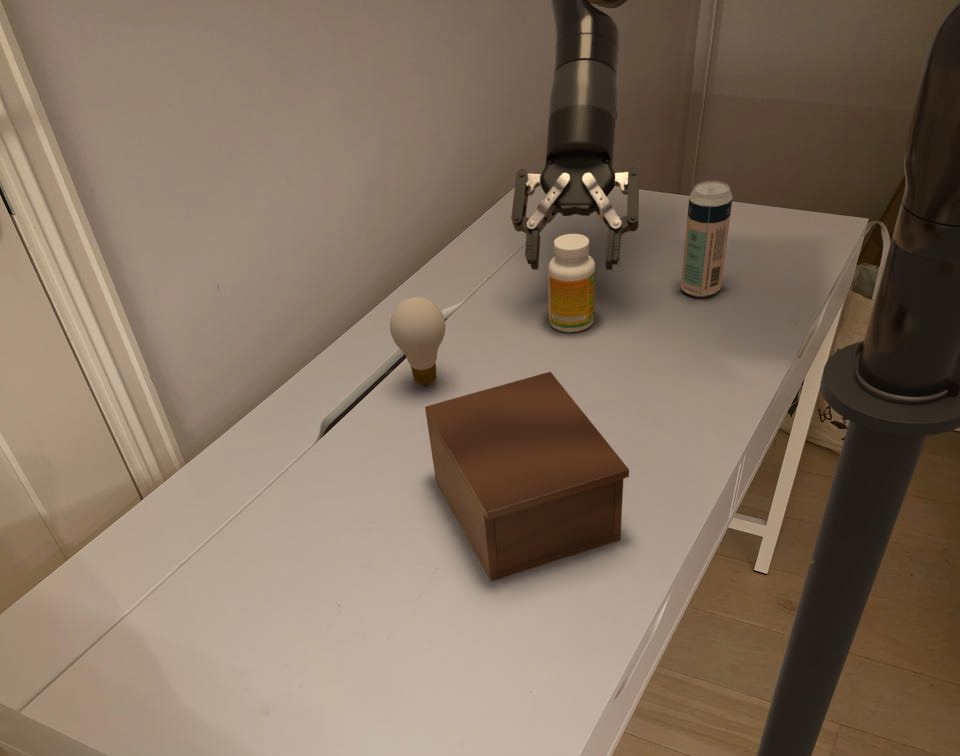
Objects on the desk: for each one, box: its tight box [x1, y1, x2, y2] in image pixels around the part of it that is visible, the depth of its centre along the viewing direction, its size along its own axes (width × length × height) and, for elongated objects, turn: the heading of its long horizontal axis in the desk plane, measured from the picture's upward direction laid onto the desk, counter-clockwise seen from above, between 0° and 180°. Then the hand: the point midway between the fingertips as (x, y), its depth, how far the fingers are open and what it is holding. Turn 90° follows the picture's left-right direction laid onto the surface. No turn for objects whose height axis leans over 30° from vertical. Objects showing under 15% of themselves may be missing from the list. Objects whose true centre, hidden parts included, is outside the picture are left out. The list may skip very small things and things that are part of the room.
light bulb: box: [389, 296, 446, 387], centre depth 95 cm, size 6×6×10 cm
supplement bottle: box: [547, 233, 596, 333], centre depth 102 cm, size 5×5×10 cm
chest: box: [425, 413, 625, 582], centre depth 80 cm, size 16×13×8 cm
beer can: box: [680, 180, 733, 298], centre depth 103 cm, size 5×5×12 cm
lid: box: [424, 371, 630, 520], centre depth 77 cm, size 16×13×1 cm
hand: (571, 267), depth 100 cm, fingers open, 8 cm apart
